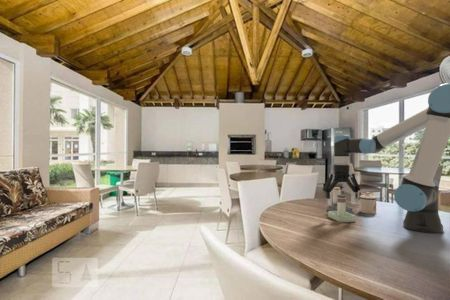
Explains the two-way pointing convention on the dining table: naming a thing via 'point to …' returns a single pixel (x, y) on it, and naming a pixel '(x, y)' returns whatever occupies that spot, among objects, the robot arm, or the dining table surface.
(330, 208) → the fuse block
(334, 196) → the fuse
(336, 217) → the parts tray
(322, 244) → the dining table surface
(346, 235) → the dining table surface
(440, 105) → the robot arm
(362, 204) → the teacup with lid
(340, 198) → the cylinder
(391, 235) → the dining table surface
